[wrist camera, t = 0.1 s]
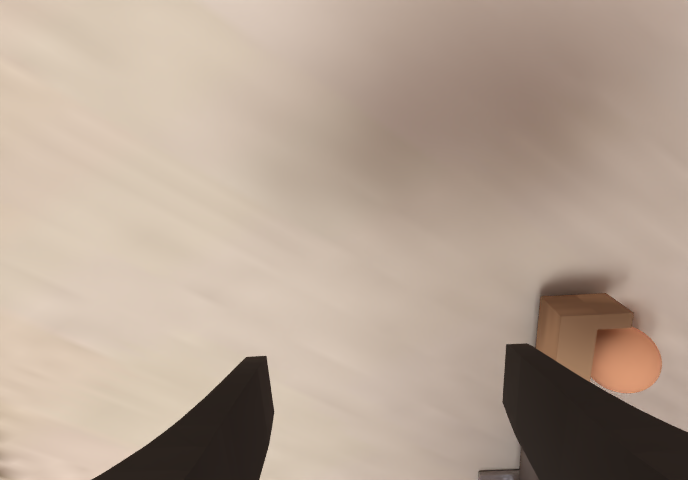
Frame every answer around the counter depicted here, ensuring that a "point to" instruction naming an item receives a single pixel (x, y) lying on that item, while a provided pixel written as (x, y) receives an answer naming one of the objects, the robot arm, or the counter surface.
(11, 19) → the counter surface
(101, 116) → the counter surface
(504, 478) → the pivot base
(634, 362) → the ball
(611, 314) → the lever
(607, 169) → the counter surface
